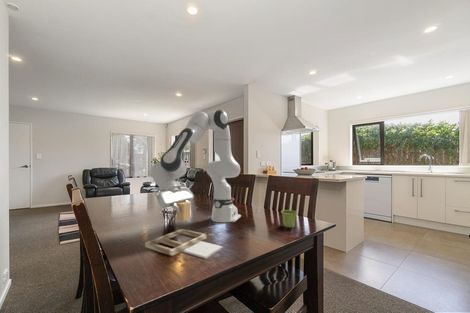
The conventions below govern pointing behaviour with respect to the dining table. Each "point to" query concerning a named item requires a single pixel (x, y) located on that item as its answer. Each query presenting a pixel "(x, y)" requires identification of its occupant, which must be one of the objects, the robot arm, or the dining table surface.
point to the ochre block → (183, 211)
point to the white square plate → (203, 249)
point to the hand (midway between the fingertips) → (184, 210)
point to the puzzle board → (174, 242)
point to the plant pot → (289, 218)
